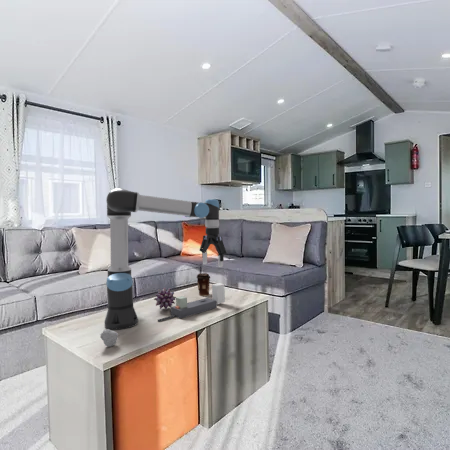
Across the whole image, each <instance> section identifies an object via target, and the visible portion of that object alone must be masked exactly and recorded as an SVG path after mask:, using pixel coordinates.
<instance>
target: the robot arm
mask: <svg viewBox="0 0 450 450" xmlns="http://www.w3.org/2000/svg"><path fill="white" fill-rule="evenodd" d="M138 211H139V212H148V213H157V214H167V215H175V216H182V217H183V216H184V217H186V218H198V219H203V218H205V219H204V220H205V223H204V224H205V225H204V226H205V235H202V241H201V244H200V248H199V251H200V252H201V254H202V256H201V258H202V265H207V264H208V250H209V247H210V246H211V245H213V246H214V247H215V249H216V251H217V253H218V257H217V261H218V263H217V264H218V265H217V267H218V268H223V267H224V260H225V259H224V255H227V250H226V247H225V244H224V242H223V237H222V236H219V235H220V203H219V200H218V199H215V198H214V199H205V202H201V201H200V202H197V201H190V200H189V201H188V200H183V199H176V198H175V199H174V198H169V197H168V198H166V197H158V196H150V195H144V194H140V193H139V192H137V191H131V190H127V189H124V188H117V187H116V188H114V189H112V190H110V191H109V192H108V193H107V196H106V216H107V218H109V221H110V222H109V224H110V228H109V229H110V232H109V233H110V266H109V268H108V269H107V278H106V282H105V284H106V293H107V294H106V295H107V298H106V299H107V311H106V315H105V318H104V327H105V328H106V329H109V330H125V329H129V328H131V327H134V326H136V325H137V324H138V323H139V321H138V320H139V317H138V315H137V312H136V309H135V307H134V291H133V290H134V289H133V288H134V287H133V283H134V281H133V280H134V279H133V276H132V268H131V267H130V265H129V219H130V218H131V216H132V213H137V212H138Z"/></svg>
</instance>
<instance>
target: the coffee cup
mask: <svg viewBox="0 0 450 450" xmlns="http://www.w3.org/2000/svg"><path fill="white" fill-rule="evenodd" d="M196 279H197V289H198V295H199V296H200V297H208V296H210V283H211V282H210V281H211V280H210V279H211V275H210V274H208V273H206V272H201V273H198V274H197V275H196Z"/></svg>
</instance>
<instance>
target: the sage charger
mask: <svg viewBox="0 0 450 450" xmlns="http://www.w3.org/2000/svg"><path fill="white" fill-rule="evenodd" d="M175 297H176V296H175ZM187 303H188V297H186V296H183V295H181V296H177V297H176V298H175V306H179V307H180V309H182V308H186V307H187Z"/></svg>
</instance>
